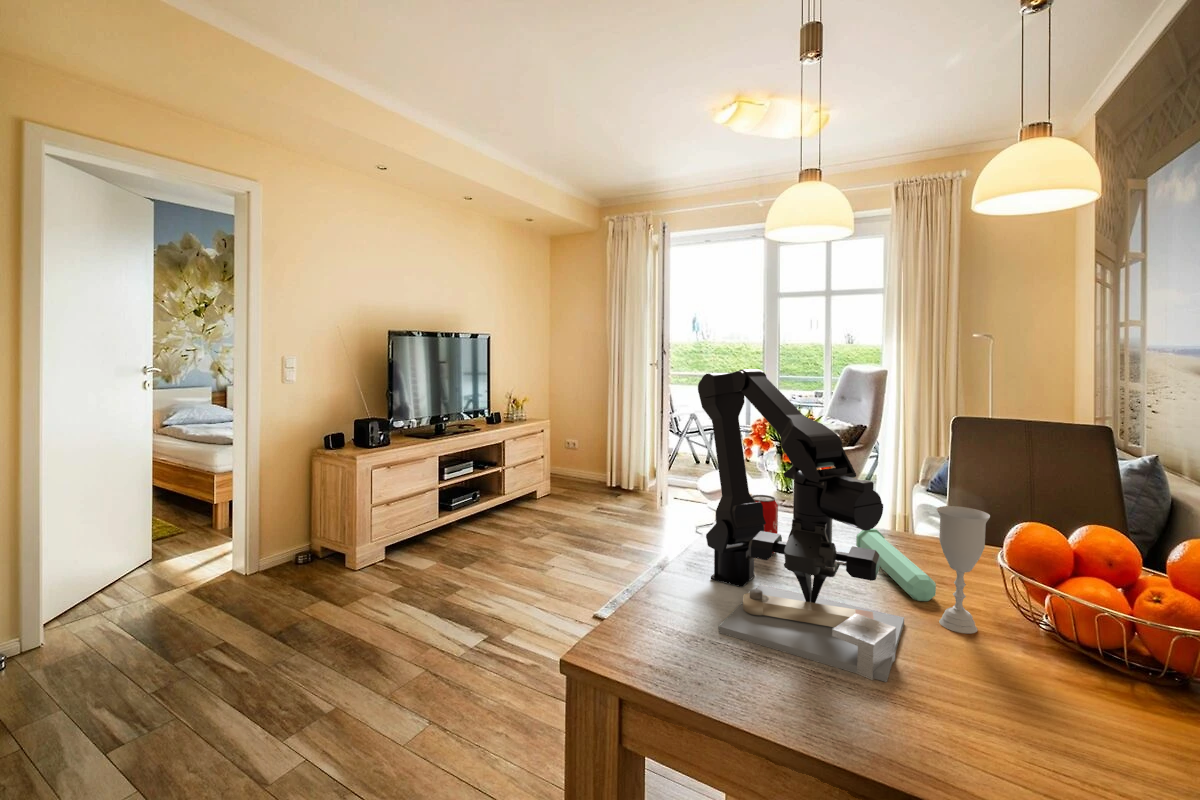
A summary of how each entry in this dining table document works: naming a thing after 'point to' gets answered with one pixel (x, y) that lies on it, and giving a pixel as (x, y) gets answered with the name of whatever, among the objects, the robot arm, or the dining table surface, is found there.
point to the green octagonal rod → (898, 566)
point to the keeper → (868, 642)
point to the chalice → (961, 557)
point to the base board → (804, 634)
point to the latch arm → (798, 609)
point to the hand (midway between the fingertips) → (811, 605)
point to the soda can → (769, 512)
